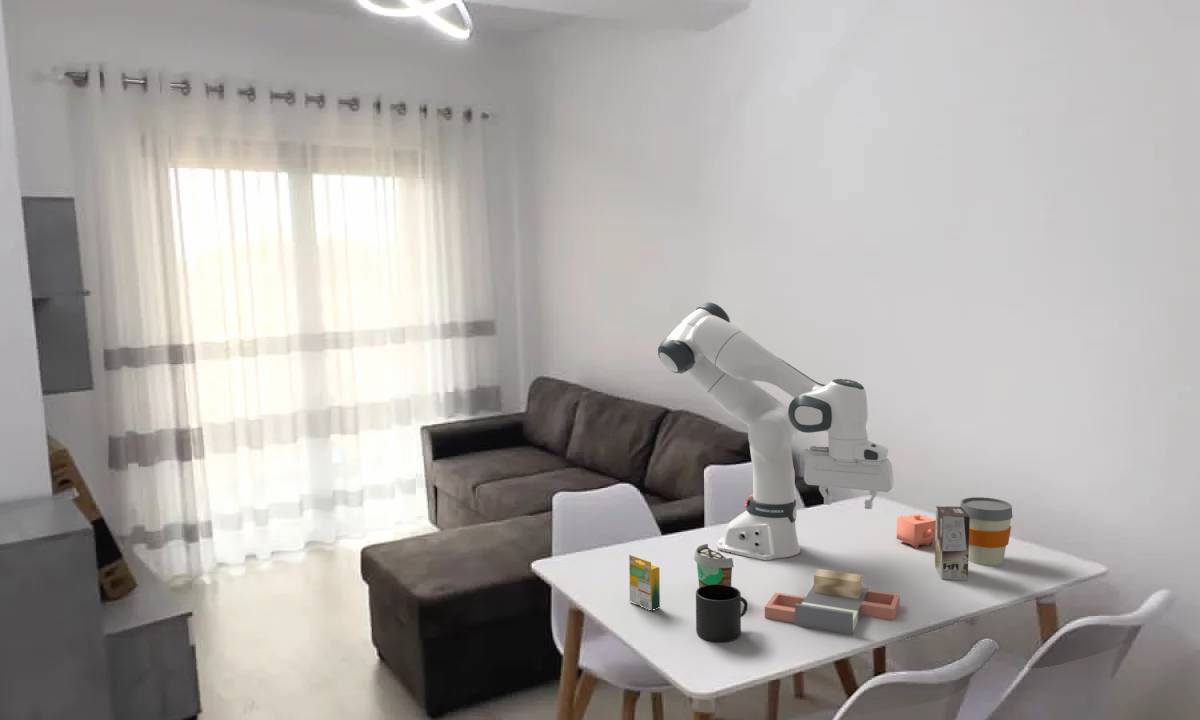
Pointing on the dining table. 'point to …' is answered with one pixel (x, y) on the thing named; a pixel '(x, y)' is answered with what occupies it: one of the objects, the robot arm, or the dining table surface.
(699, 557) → the food container
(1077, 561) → the dining table surface
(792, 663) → the dining table surface
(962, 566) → the coffee box
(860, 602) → the board
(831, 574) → the beech bar
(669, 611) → the dining table surface
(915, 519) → the pink cube teapot
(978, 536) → the reusable coffee cup
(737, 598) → the mug
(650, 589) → the crayon box
